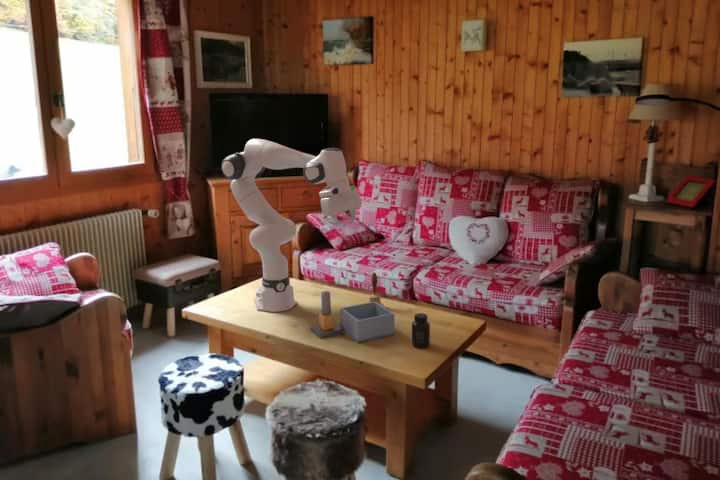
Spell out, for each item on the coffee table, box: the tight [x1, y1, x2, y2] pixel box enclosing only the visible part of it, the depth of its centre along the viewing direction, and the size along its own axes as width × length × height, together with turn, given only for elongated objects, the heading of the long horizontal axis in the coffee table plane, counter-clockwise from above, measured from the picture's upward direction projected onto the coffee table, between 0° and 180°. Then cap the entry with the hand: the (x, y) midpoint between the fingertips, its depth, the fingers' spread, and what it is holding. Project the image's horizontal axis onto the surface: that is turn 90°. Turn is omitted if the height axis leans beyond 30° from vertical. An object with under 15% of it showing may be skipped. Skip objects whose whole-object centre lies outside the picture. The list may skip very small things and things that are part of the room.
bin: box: [339, 301, 395, 344], centre depth 234 cm, size 16×16×9 cm
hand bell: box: [368, 272, 385, 307], centre depth 260 cm, size 8×8×16 cm
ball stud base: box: [310, 321, 345, 339], centre depth 235 cm, size 10×10×6 cm
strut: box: [318, 290, 335, 330], centre depth 234 cm, size 4×4×15 cm
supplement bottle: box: [411, 312, 431, 349], centre depth 221 cm, size 7×7×12 cm
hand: (345, 222), depth 233 cm, fingers open, 8 cm apart
